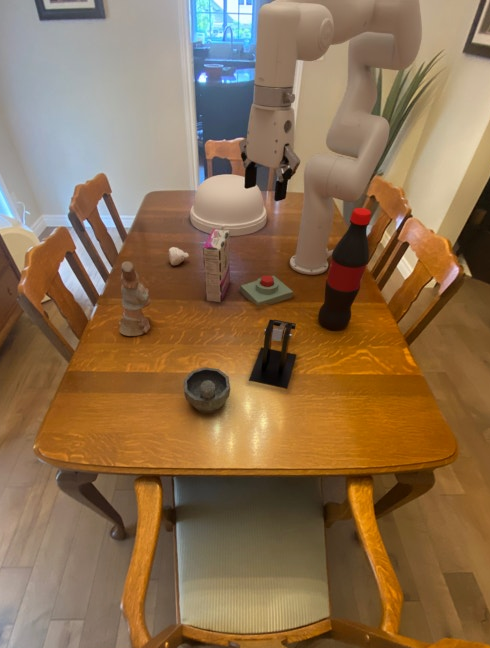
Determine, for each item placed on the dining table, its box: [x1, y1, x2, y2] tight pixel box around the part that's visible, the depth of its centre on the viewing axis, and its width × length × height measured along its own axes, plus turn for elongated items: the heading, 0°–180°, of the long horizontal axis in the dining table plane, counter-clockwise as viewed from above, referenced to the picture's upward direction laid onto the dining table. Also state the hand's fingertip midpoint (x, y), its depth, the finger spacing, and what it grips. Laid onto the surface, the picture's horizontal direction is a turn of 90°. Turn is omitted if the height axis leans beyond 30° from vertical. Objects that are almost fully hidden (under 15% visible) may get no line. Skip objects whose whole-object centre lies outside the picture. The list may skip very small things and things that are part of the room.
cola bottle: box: [317, 207, 372, 332], centre depth 88 cm, size 8×8×30 cm
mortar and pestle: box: [183, 366, 231, 414], centre depth 75 cm, size 11×9×12 cm
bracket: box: [248, 319, 298, 390], centre depth 83 cm, size 12×9×13 cm
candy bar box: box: [202, 229, 231, 304], centre depth 103 cm, size 11×5×16 cm, turn 168°
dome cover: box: [189, 173, 268, 237], centre depth 138 cm, size 32×30×14 cm
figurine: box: [118, 260, 152, 337], centre depth 90 cm, size 9×8×20 cm
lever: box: [271, 319, 297, 342], centre depth 84 cm, size 13×6×2 cm, turn 164°
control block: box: [239, 275, 294, 307], centre depth 107 cm, size 12×10×4 cm
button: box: [260, 275, 274, 287], centre depth 105 cm, size 4×4×2 cm
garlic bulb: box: [168, 246, 190, 267], centre depth 118 cm, size 6×6×5 cm
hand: (264, 193), depth 83 cm, fingers open, 9 cm apart
